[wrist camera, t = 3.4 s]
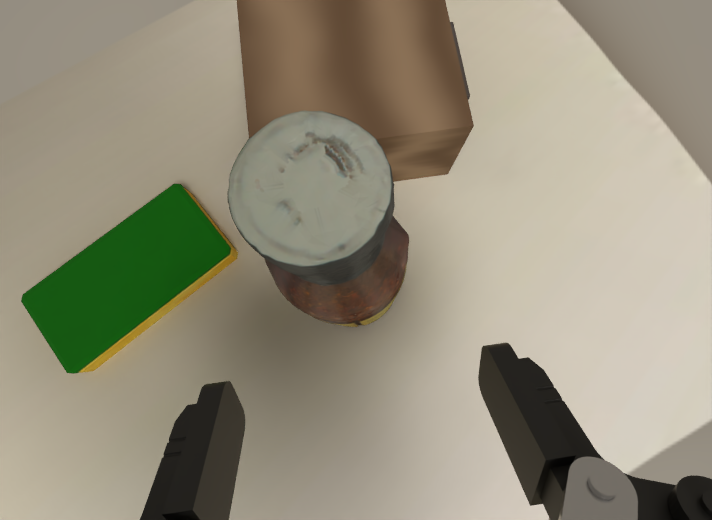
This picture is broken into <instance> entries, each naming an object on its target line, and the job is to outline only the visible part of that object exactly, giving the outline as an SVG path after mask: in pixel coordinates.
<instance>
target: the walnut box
mask: <svg viewBox="0 0 712 520" xmlns="http://www.w3.org/2000/svg"><path fill="white" fill-rule="evenodd" d="M237 9H238V20H239V31H240V42H241V53H242V64H243V75H244V87H245V98H246V109H247V120H248V131H249V138H251V137H252V136H253V135H254V134H256V133H257V132H258V131H259V130H260V129H261V128H263V127H264V126H266V125H267V124H268V123H270V122H271V121H273V120H274V119H277V118H279V117H281V116H284V115H286V114H290V113H294V112H299V111H304V110H305V111H324V112H328V113H332V114H335V115H338V116H342V117H345V118H347V119H348V120H350V121H352V122H354V123H356V124H358V125H359V126H361V127H362V128H363V129H364V130H366V131H367V132H369V133H370V134H371V135H372V136H374V137H375V138H376V139H377V140H378V142H379V144H380V145H381V147H382V148H383V150H384V153H385V155H386V157H387V160H388V162H389V164H390V166H391V170H392V176H393V182H394V181H401V180H408V179H416V178H423V177H430V176H437V175H445V174H448V173H449V171H450V169H451V167H452V165H453V163H454V161H455V160H456V158H457V156H458V154H459V152H460V150H461V148H462V147H463V145H464V143H465V141H466V139H467V137H468V135H469V133H470V132H471V130H472V128H473V126H474V125H473V121H472V116H471V112H470V108H469V103H468V99H469V97H470V94H469V90H468V85H467V81H466V76H465V72H464V68H463V63H462V59H461V55H460V50H459V46H458V42H457V37H456V33H455V29H454V24H453V22H450V20H449V16H448V11H447V7H446V2H445V0H237Z"/></svg>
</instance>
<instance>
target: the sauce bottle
mask: <svg viewBox="0 0 712 520" xmlns="http://www.w3.org/2000/svg"><path fill="white" fill-rule="evenodd" d="M393 188H394V183H393V176H392V170H391V166H390V164H389V162H388V160H387V157H386V155H385V153H384V150H383V148H382V147H381V145H380V144H379V142H378V140H377V139H376V138H375V137H374V136H372V135H371V134H370V133H369V132H367V131H366V130H364V129H363V128H362V127H361V126H359V125H358V124H356V123H354V122H352V121H350V120H348V119H347V118H345V117H342V116H338V115H335V114H332V113H328V112H324V111H305V110H304V111H299V112H294V113H290V114H286V115H284V116H281V117H279V118H277V119H274V120H273V121H271V122H270V123H268V124H267V125H266V126H264V127H263V128H261V129H260V130H259V131H258V132H257V133H256V134H254V135H253V136H252V137H251V138H249V139H248V141H247V142H246V144H245V146H244V147H243V149H242V150H241V152H240V153H239V155H238V157H237V159H236V161H235V163H234V165H233V168H232V170H231V173H230V178H229V189H228V203H229V209H230V212H231V215H232V218H233V221H234V223H235V225H236V227H237V229H238V230H239V232H240V234H241V235H242V237H243V238H244V239H245V240H246V241H247V242H248V243H249V245H250V246H251V247H252V248H253V249H254V250H255V251H257V252H258V253H259V254H260V255H261V256H262V257H264V258H265V260H266V264H267V266H268V268H269V270H270V272H271V274H272V276H273V278H274V280H275V283H276V285H277V286H278V288H279V290H280V292H281V293H282V294H283V295H284V296H285V297H286V299H287V300H288V301H290V302H291V303H292V305H294V306H295V307H297V308H298V309H300V310H302V311H303V312H304V313H307V314H309V315H310V316H312V317H314V318H316V319H318V320H321V321H324V322H327V323H332V324H337V325H343V326H350V327H358V326H359V325H367V324H370V323H372V322H374V321H376V320H377V319H379V318H380V317H381V316H382V315H384V314H385V313H386V312H387V311H388V309H389V308H390V306H391V304H392V303H393V301H394V299H395V297H396V295H397V293H398V292H399V290H400V288H401V285H402V283H403V280H404V276H405V272H406V264H407V260H408V246H409V245H408V244H409V236H408V234H407V232H406V231H405V230H404V229H403V228H402V226H401V225H400V224H399V223H398V222H397V220H396V219H395V218H394V217H393V210H394V189H393Z"/></svg>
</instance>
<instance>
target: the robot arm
mask: <svg viewBox="0 0 712 520" xmlns="http://www.w3.org/2000/svg"><path fill="white" fill-rule="evenodd" d="M478 378H479V386H480V391H481V394H482V396H483V399H484V401H485V403H486V406H487V408H488V410H489V413H490V415H491V417H492V419H493V422H494V424H495V426H496V428H497V431H498V433H499V435H500V438H501V440H502V442H503V444H504V447H505V449H506V451H507V454H508V456H509V458H510V460H511V463H512V465H513V467H514V469H515V472H516V474H517V476H518V479H519V481H520V483H521V485H522V488H523V490H524V492H525V495H526V497H527V499H528V501H529V504H530V506H531V505H537V504H543V505H544V507H545V509H546V511H547V513H548V515H549V520H712V479H710V478H706V477H702V476H687V477H684V478H682V479H681V480H680V481H679V482H678V484H677V485H672V484H666V483H661V482H656V481H650V480H645V479H639V478H635V477H632V476H630V475H627V474H625V473H623V472H622V471H621V470H620V469H618V468H617V467H616V466H614V465H613V464H611V463H609V462H607V461H605V460H604V459H603V458H602V457H601V456H600V455H599V454H598V453H597V451H596V450H595V449H594V447H593V445H592V444H591V442H590V441H589V439H588V438H587V436H586V435H585V433H584V432H583V430H582V428H581V427H580V425H579V424H578V422H577V421H576V419H575V418H574V416H573V415H572V413H571V411H570V410H569V408H568V407H567V405H566V404H565V402H564V401H562V398H561V396H560V394H559V393H558V391H557V390H556V388H554V386H553V384H552V382H551V381H550V379H549V377H548V376H547V374H546V373H545V371H544V370H543V369H542V368H541V367H539V366H538V365H537V364H536V363H535V362H533V361H532V360H531V359H530V358H521V359H518V357H517V355H516V354H515V352H514V350H513V349H512V347H511V346H510V345H509V344H508V343H501V344H494V345H486V346H483V347H482V351H481V359H480V368H479V377H478ZM244 431H245V414H244V410H243V407H242V405H241V403H240V401H239V399H238V396H237V394H236V392H235V390H234V388H233V386H232V384H231V382H230V381H226V382H219V383H212V384H206V385H204V386H203V387H202V389H201V392H200V395H199V398H198V401H197V404H192V405H187V406H186V408H185V409H184V410H183V412H182V413H181V414H180V416H179V417H178V418H177V420H176V421H175V423H174V426H173V429H172V432H171V435H170V437H169V443H167V446H166V449H165V452H164V457H163V458H162V460H161V463H160V466H159V468H158V471H157V474H156V477H155V480H154V482H153V485H152V488H151V491H150V494H149V496H148V499H147V502H146V505H145V508H144V511H143V513H142V516H141V518H140V520H229V515H230V509H231V504H232V498H233V492H234V487H235V481H236V476H237V470H238V464H239V459H240V453H241V448H242V442H243V436H244Z"/></svg>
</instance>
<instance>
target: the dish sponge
mask: <svg viewBox="0 0 712 520" xmlns="http://www.w3.org/2000/svg"><path fill="white" fill-rule="evenodd" d="M237 255H238V252H237V251H236V250H235V248H234V247H233V246H232V244H231V243H230V242H229V241H228V239H227V238H226V237H225V236H224V234H223V233H222V232H221V231H220V229H219V228H218V227H217V225H216V224H215V223H214V222H213V220H212V219H211V218H210V217H209V215H208V214H207V213H206V212H205V210H204V209H203V208H202V206H201V205H200V204H199V203H198V201H197V200H196V199H195V198H194V196H193V195H192V194H191V193H190V192H189V191H188V190H186V189H185V188H184V187H183V186H182V185H181V184H173V185H172V186H170V187H169V188H168V189H166V190H165V191H164V192H162V193H161V194H159V195H158V196H157V197H155V198H154V199H153V200H151V201H150V202H149V203H147V204H146V205H144V206H143V207H142V208H140V209H139V210H138V211H136V212H135V213H134V214H132V215H131V216H129V217H128V218H127V219H125V220H124V221H123V222H121V223H120V224H118V225H117V226H116V227H114V228H113V229H112V230H110V231H109V232H108V233H106V234H105V235H103V236H102V237H101V238H99V239H98V240H97V241H95V242H94V243H93V244H91V245H90V246H88V247H87V248H86V249H84V250H83V251H82V252H80V253H79V254H78V255H76V256H75V257H73V258H72V259H71V260H69V261H68V262H67V263H65V264H64V265H62V266H61V267H60V268H58V269H57V270H56V271H54V272H53V273H52V274H50V275H49V276H47V277H46V278H45V279H43V280H42V281H41V282H39V283H38V284H37V285H35V286H34V287H32V288H31V289H30V290H28V291H27V292H26V293H24V294H23V296H22V300H21V302H22V303H23V305H24V306H25V308H26V309H27V311H28V313H29V314H30V316H31V317H32V319H33V320H34V322H35V324H36V325H37V327H38V328H39V330H40V331H41V333H42V334H43V336H44V338H45V339H46V341H47V342H48V344H49V345H50V347H51V349H52V350H53V352H54V353H55V355H56V356H57V358H58V359H59V361H60V363H61V364H62V366H63V367H64V369H65V370H66V372H67V373H78V372H80V373H81V372H89V371H94V370H95V369H96V368H98V367H99V366H100V365H102V364H103V363H104V362H105V361H107V360H108V359H109V358H111V357H112V356H113V355H114V354H116V353H117V352H118V351H119V350H121V349H122V348H123V347H125V346H126V345H127V344H128V343H130V342H131V341H132V340H134V339H135V338H136V337H137V336H139V335H140V334H141V333H142V332H144V331H145V330H146V329H148V328H149V327H150V326H151V325H153V324H154V323H155V322H157V321H158V320H159V319H160V318H162V317H163V316H164V315H165V314H167V313H168V312H169V311H171V310H172V309H173V308H174V307H176V306H177V305H178V304H180V303H181V302H182V301H183V300H185V299H186V298H187V297H189V296H190V295H191V294H192V293H194V292H195V291H196V290H197V289H199V288H200V287H201V286H203V285H204V284H205V283H206V282H208V281H209V280H210V279H212V278H213V277H214V276H215V275H217V274H218V273H219V272H220V271H222V270H223V269H224V268H226V267H227V266H228V265H229V264H231V263H232V262H233V261H235V260H236V259H237Z"/></svg>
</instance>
